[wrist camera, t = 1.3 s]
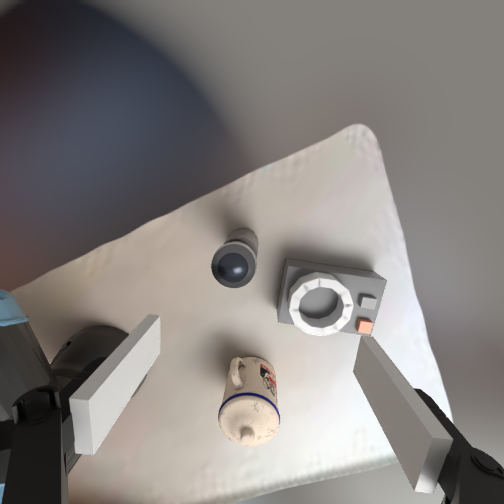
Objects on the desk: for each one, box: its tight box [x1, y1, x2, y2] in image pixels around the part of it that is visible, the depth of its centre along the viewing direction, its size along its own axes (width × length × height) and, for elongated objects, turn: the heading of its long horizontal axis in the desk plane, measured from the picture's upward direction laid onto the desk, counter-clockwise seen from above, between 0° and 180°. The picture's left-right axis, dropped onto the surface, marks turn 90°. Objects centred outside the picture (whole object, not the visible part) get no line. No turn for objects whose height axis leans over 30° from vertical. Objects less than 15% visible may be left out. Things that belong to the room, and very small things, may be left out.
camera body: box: [277, 259, 387, 336], centre depth 36 cm, size 14×9×6 cm, turn 82°
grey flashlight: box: [211, 228, 258, 288], centre depth 31 cm, size 5×5×13 cm
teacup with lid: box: [218, 357, 280, 446], centre depth 37 cm, size 12×9×12 cm
